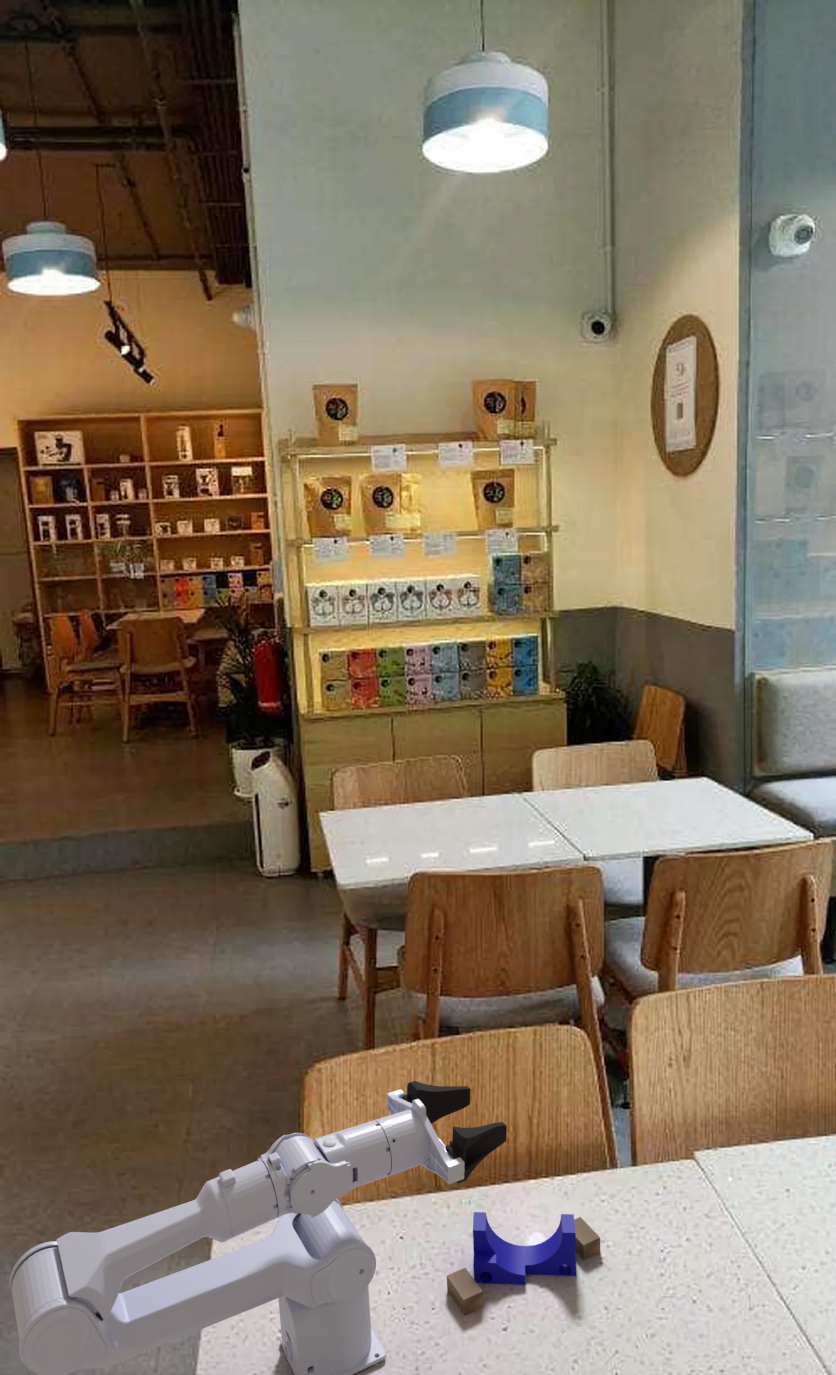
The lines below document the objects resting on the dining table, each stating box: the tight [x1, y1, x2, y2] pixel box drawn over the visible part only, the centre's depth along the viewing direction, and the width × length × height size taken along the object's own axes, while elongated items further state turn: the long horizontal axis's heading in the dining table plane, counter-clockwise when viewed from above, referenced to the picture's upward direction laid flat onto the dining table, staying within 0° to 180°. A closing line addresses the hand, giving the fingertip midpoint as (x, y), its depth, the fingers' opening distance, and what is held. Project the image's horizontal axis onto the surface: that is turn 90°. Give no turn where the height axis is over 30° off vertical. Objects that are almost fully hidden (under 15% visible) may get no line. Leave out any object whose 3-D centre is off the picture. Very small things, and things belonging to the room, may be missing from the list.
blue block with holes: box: [472, 1211, 577, 1286], centre depth 113 cm, size 12×4×6 cm, turn 85°
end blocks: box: [446, 1216, 601, 1316], centre depth 113 cm, size 19×4×2 cm, turn 117°
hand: (486, 1113), depth 109 cm, fingers open, 7 cm apart
